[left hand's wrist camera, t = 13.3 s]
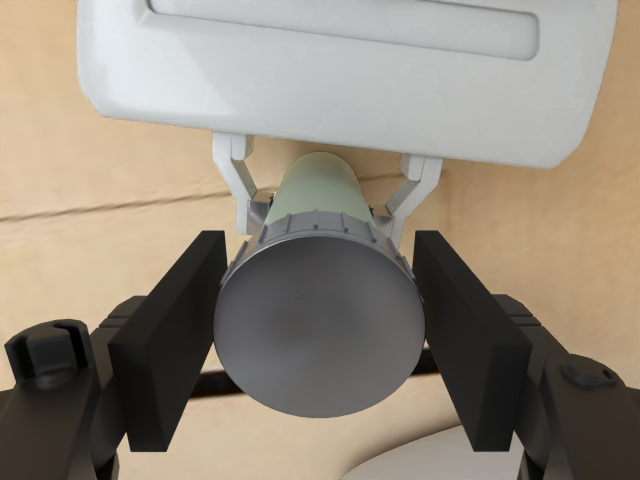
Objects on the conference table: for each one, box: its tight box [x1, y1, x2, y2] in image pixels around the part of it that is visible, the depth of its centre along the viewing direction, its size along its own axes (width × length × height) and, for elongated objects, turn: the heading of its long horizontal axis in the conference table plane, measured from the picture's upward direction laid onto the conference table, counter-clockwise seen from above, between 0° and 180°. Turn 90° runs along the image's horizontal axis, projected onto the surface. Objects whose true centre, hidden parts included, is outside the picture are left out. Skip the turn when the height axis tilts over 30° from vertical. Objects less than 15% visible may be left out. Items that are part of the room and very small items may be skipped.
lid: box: [212, 209, 426, 418], centre depth 11 cm, size 6×6×2 cm
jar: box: [264, 152, 378, 230], centre depth 18 cm, size 5×5×15 cm
